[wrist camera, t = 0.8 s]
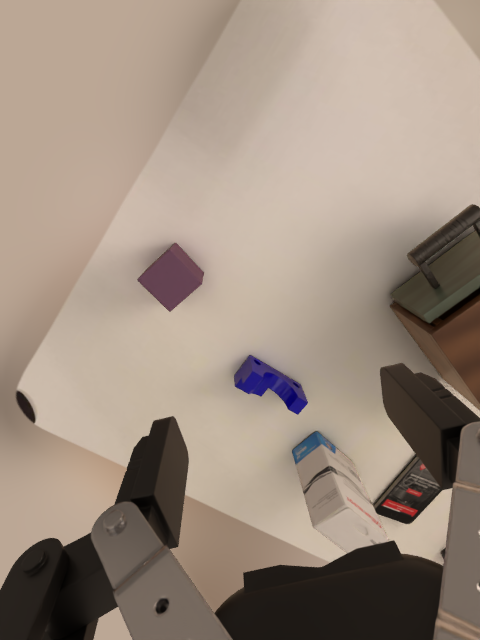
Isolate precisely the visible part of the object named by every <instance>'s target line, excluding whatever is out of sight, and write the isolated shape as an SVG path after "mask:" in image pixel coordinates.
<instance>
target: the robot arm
mask: <svg viewBox="0 0 480 640" xmlns="http://www.w3.org/2000/svg"><path fill="white" fill-rule="evenodd" d="M380 376H381V386H382V396H383V403H384V407H385V410H386V413H387V415H388V417H389V418H390V420H391V421H392V422H393V424H394V425H395V426H396V428H397V429H398V430H399V432H400V433H401V434H402V436H403V437H404V439H405V440H406V441H407V443H408V444H409V445H410V447H411V448H412V449H413V451H414V452H415V453H416V455H417V456H418V458H419V459H420V460H421V462H422V463H423V464H424V466H425V467H426V468H427V470H428V471H429V472H430V474H431V475H432V477H433V478H434V479H435V481H436V482H437V483H438V485H439V486H440V487H441V489H442V490H445V489H450V488H453V489H452V497H451V506H450V514H449V523H448V532H447V540H446V549H445V557H444V566H442V565H440V564H438V563H436V562H433V561H431V560H428V559H425V558H422V557H418V556H414V555H408V554H401V553H400V551H399V549H398V547H397V545H396V543H395V541H389V542H385V543H380V544H375V545H371V546H366V547H361V548H357V549H355V550H353V551H351V552H349V553H347V554H346V555H344V556H342V557H340V558H338V559H336V560H334V561H333V562H331V563H329V564H327V565H325V566H323V567H318V568H317V567H302V566H301V567H300V566H287V565H278V566H273V567H269V568H264V569H259V570H254V571H250V572H245V573H244V574H243V575H244V587H243V588H242V589H240V590H238V591H237V592H236V593H234V594H233V595H231V596H230V597H229V598H228V599H227V600H226V601H225V602H224V603H223V604H222V605H221V606H220V607H219V608H218V609H217V611H216V612H215V613H214V612H213V611H212V609H211V608H210V606H209V605H208V604H207V602H206V601H205V599H204V598H203V596H202V595H201V593H200V592H199V591H198V589H197V588H196V586H195V585H194V583H193V582H192V580H191V579H190V578H189V576H188V575H187V573H186V572H185V571H184V569H183V568H182V566H181V565H180V563H179V562H178V561H177V559H176V558H175V556H174V555H173V553H172V552H171V550H170V549H171V548H176V547H178V544H179V535H180V527H181V520H182V512H183V504H184V496H185V488H186V480H187V472H188V464H189V458H188V451H187V447H186V445H185V442H184V439H183V437H182V434H181V432H180V429H179V426H178V424H177V421H176V419H175V417H173V416H172V417H168V418H163V419H159V420H155V421H154V422H153V424H152V427H151V430H150V434H149V436H145V437H142V438H141V440H140V441H139V442H138V443H137V445H136V446H135V447H134V449H133V452H132V455H131V458H130V462H129V464H128V467H127V471H126V473H125V475H124V478H123V481H122V484H121V487H120V490H119V493H118V496H117V499H116V502H115V505H113V506H111V507H110V508H108V509H107V510H106V511H105V512H103V513H102V514H101V516H100V517H99V518H98V519H97V521H96V522H95V524H94V526H93V528H92V532H91V533H89V534H88V535H86V536H84V537H82V538H80V539H78V540H76V541H74V542H72V543H70V544H68V545H66V546H64V547H63V545H62V544H61V542H60V541H59V540H58V539H55V538H48V539H45V540H42V541H40V542H38V543H36V544H35V545H33V546H32V547H30V548H29V549H28V550H26V551H25V552H24V553H23V554H22V555H21V556H20V557H19V558H18V560H17V561H16V562H15V564H14V565H13V566H12V568H11V570H10V572H9V574H8V576H7V578H6V580H5V582H4V584H3V586H2V588H1V590H0V640H93V639H94V634H95V630H96V626H97V622H98V618H99V617H101V616H103V615H104V614H106V613H108V612H109V611H111V610H113V609H114V608H116V607H119V609H120V612H121V614H122V616H123V618H124V621H125V623H126V625H127V628H128V630H129V632H130V635H131V637H132V639H133V640H480V418H479V417H478V416H477V415H476V414H475V413H473V412H472V411H471V410H470V409H469V408H468V407H467V406H465V405H464V404H463V403H462V402H461V401H460V400H459V399H458V398H456V397H455V396H453V394H452V393H451V392H450V391H448V390H447V389H445V387H444V386H443V385H442V384H440V383H439V382H438V381H437V380H436V379H435V378H432V377H430V376H428V375H426V374H423V373H421V372H420V373H416V374H414V373H413V372H412V371H411V370H410V369H409V368H407V367H406V366H405V365H404V364H403V363H398V364H394V365H390V366H386V367H382V368H381V369H380Z"/></svg>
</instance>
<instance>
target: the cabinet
mask: <svg viewBox="0 0 480 640" xmlns="http://www.w3.org/2000/svg"><path fill="white" fill-rule="evenodd" d="M390 307H391V309H392V310H393V311H394V313H395V314H396V316H397V317H398V318H399V320H400V321H401V322H402V324H403V325H404V326H405V328H406V329H407V331H408V332H409V333H410V335H411V336H412V337H413V339H414V340H415V342H416V343H417V344H418V346H419V347H420V348H421V350H422V351H423V352H424V354H425V355H426V357H427V358H428V359H429V361H430V362H431V363H432V365H433V366H434V368H435V369H436V370H437V372H438V373H439V374H440V376H441V377H442V379H444V380H445V381H446V382H447V383H448V384H450V385H451V386H452V387H453V388H454V389H455V390H457V391H458V392H459V393H460V394H461V395H462V396H464V397H465V398H466V399H467V400H468V401H469V402H471V403H472V404H473V405H474V406H475V407H476V408H478V409H479V410H480V295H478V296H477V297H476V298H474V299H473V300H471V301H470V302H468V303H467V304H466V305H464V306H463V307H461V308H460V309H459V310H457V311H456V312H454V313H453V314H452V315H450V316H449V317H447V318H446V319H444V320H443V321H442V322H440V323H439V324H437V325H436V326H435V327H433V326H431V325H430V324H428V323H427V322H425V321H424V320H422V319H421V318H419V317H418V316H416V315H415V314H413V313H411V312H410V311H409V310H407V309H405V308H404V307H402V306H401V305H399V304H398V303H396V302H394V303H393V304H391V305H390Z"/></svg>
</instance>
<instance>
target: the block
mask: <svg viewBox="0 0 480 640" xmlns="http://www.w3.org/2000/svg"><path fill="white" fill-rule="evenodd" d="M203 276H204V272H203V271H202V270H201V269H200V268H199V267H198V266H197V265H196V264H195V263H194V262H193V260H192V259H191V258H190V257H189V256H188V255H187V254H186V253H185V252H184V251H183V250H182V249H181V248H180V247H179V245H178V244H177V243H174V244H173V245H172V246H171V247H170V248H169V249H168V250H167V251H166V252H165V253H164V254H162V255H161V256H160V257H159V258H158V259H157V260H156V261H155V262H154V263H153V264H152V265H151V266H150V267H149V268H147V269H146V271H145V272H144V273H143V274H142V275H141V276H140V277H139V278H138V279H137V280H138V281H139V282H140V283H141V284H142V285H143V286H144V287H145V288H146V289H147V290H148V291H149V292H150V293H151V294H152V295H153V296H154V297H155V298H156V299H157V300H158V301H159V302H160V303H161V304H162V305H163V306H164V307H165V308H166V309H167V310H168V311H172V310H173V309H174V308H175V307H176V306H177V305H178V304H180V303H181V302H182V301H183V300H184V299H185V298H186V297H187V296H189V295H190V294H191V293H192V292H193V291H194V290H195V289H197V288H198V287H199V286H200V285H201V284H202V281H203Z"/></svg>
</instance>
